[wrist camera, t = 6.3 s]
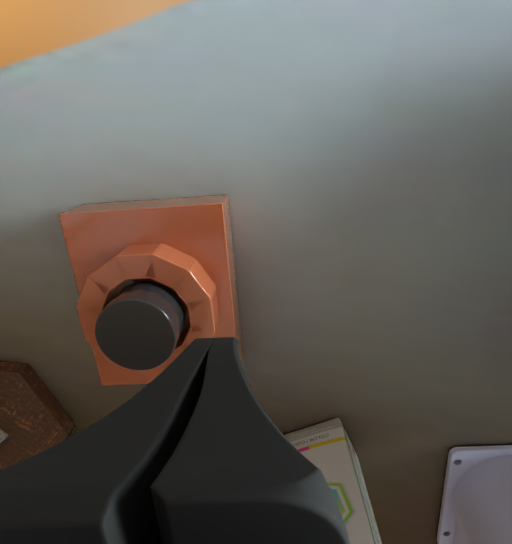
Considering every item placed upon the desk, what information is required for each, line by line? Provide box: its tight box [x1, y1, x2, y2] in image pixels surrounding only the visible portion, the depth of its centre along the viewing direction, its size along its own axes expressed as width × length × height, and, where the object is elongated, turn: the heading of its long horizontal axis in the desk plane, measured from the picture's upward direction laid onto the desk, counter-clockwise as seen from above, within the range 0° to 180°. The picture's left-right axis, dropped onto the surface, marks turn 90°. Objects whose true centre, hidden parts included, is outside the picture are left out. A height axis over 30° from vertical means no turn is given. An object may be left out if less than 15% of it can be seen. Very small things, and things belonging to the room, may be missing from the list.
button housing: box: [59, 195, 243, 386], centre depth 20 cm, size 10×8×4 cm
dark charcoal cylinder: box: [95, 282, 185, 370], centre depth 18 cm, size 4×4×2 cm
